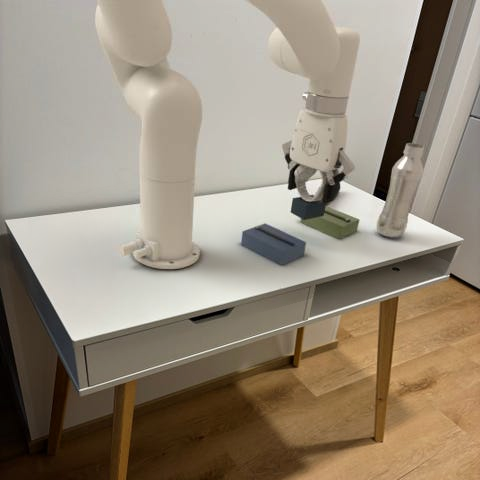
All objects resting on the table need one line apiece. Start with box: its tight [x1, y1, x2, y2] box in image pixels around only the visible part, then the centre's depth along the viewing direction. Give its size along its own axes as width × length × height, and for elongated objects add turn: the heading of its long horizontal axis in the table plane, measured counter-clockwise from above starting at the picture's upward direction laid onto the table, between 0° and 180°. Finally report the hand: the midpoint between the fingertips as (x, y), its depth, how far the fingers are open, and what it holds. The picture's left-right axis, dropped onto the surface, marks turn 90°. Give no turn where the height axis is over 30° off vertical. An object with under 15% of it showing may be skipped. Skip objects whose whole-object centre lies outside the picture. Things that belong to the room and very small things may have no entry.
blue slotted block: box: [240, 223, 307, 266], centre depth 98 cm, size 7×11×4 cm, turn 46°
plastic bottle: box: [376, 142, 425, 239], centre depth 106 cm, size 6×7×20 cm
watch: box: [290, 165, 329, 220], centre depth 99 cm, size 6×8×11 cm
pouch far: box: [300, 205, 361, 240], centre depth 111 cm, size 7×11×4 cm, turn 46°
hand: (310, 194), depth 100 cm, fingers closed on watch, 8 cm apart
